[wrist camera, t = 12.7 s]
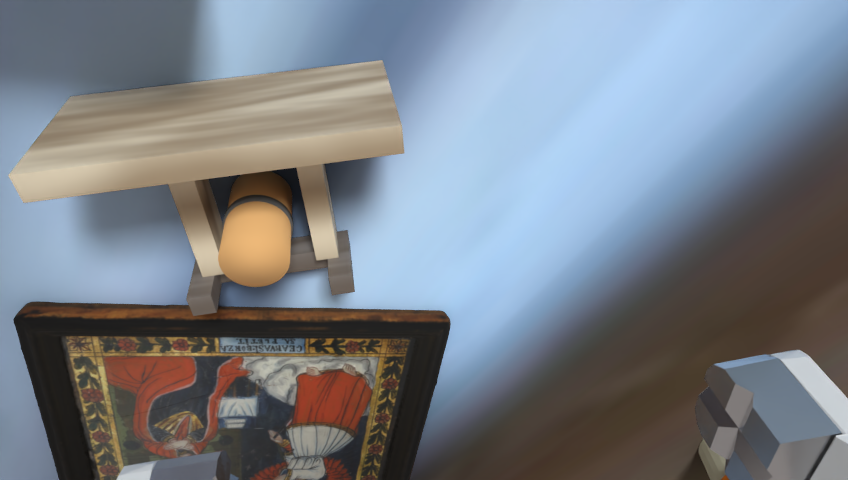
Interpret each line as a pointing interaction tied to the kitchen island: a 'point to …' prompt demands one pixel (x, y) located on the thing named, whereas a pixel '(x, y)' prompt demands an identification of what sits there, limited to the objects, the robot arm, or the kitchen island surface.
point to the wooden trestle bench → (222, 152)
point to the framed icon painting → (233, 387)
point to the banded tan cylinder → (257, 230)
